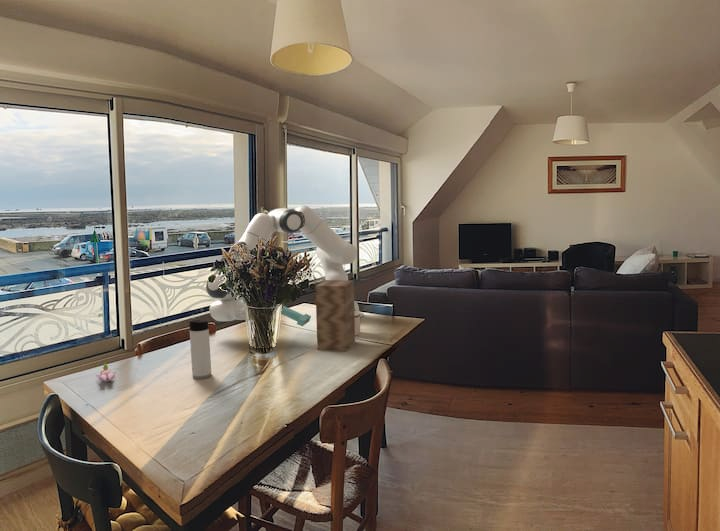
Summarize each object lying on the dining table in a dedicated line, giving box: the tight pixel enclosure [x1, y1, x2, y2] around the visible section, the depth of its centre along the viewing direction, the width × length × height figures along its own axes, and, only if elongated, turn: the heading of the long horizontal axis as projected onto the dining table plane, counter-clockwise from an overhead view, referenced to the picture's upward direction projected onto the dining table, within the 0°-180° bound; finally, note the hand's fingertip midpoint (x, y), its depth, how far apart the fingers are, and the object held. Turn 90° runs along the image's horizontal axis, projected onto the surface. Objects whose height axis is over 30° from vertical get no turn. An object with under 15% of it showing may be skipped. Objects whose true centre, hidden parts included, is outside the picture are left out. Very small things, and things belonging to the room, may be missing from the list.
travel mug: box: [188, 319, 212, 380], centre depth 176 cm, size 6×7×20 cm
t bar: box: [280, 305, 312, 327], centre depth 213 cm, size 18×8×2 cm, turn 77°
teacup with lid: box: [354, 310, 361, 336], centre depth 228 cm, size 12×9×12 cm
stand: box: [315, 279, 356, 352], centre depth 209 cm, size 12×14×26 cm
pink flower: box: [95, 363, 117, 382], centre depth 174 cm, size 6×6×15 cm
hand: (275, 305), depth 214 cm, fingers closed on t bar, 3 cm apart
